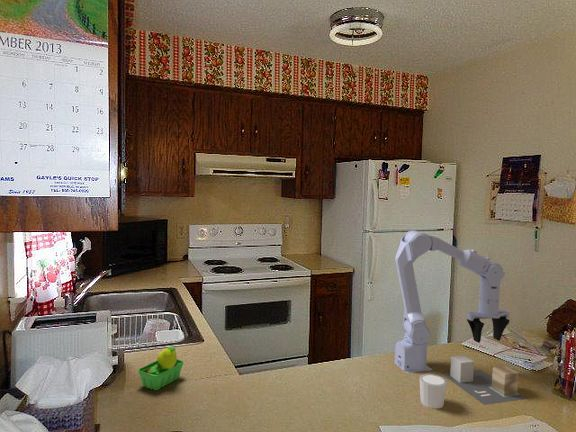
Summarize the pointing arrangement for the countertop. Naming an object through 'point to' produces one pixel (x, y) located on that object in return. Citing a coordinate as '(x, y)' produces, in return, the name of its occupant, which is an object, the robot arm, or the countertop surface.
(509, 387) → the maple block
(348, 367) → the countertop surface
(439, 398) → the white tapered cylinder
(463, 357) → the grey block
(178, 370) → the fruit basket
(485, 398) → the mat
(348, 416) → the countertop surface
